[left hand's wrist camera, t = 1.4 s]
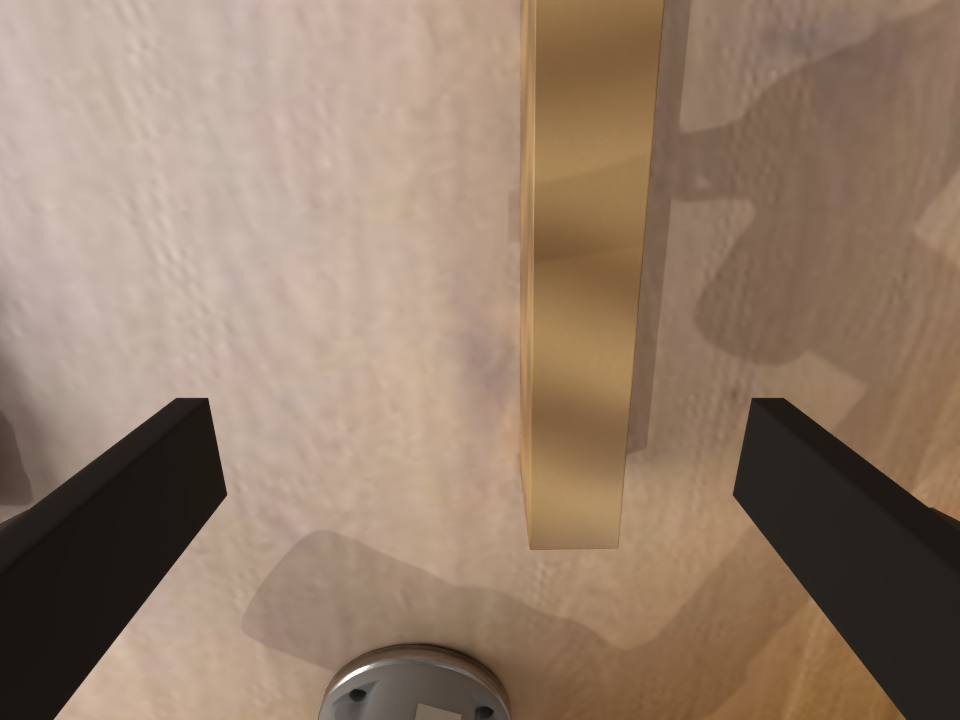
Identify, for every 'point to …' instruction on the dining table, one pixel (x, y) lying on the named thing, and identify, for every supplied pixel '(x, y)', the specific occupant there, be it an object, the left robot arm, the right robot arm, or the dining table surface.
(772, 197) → the dining table surface
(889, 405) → the dining table surface
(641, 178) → the bar
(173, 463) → the left robot arm
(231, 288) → the dining table surface
